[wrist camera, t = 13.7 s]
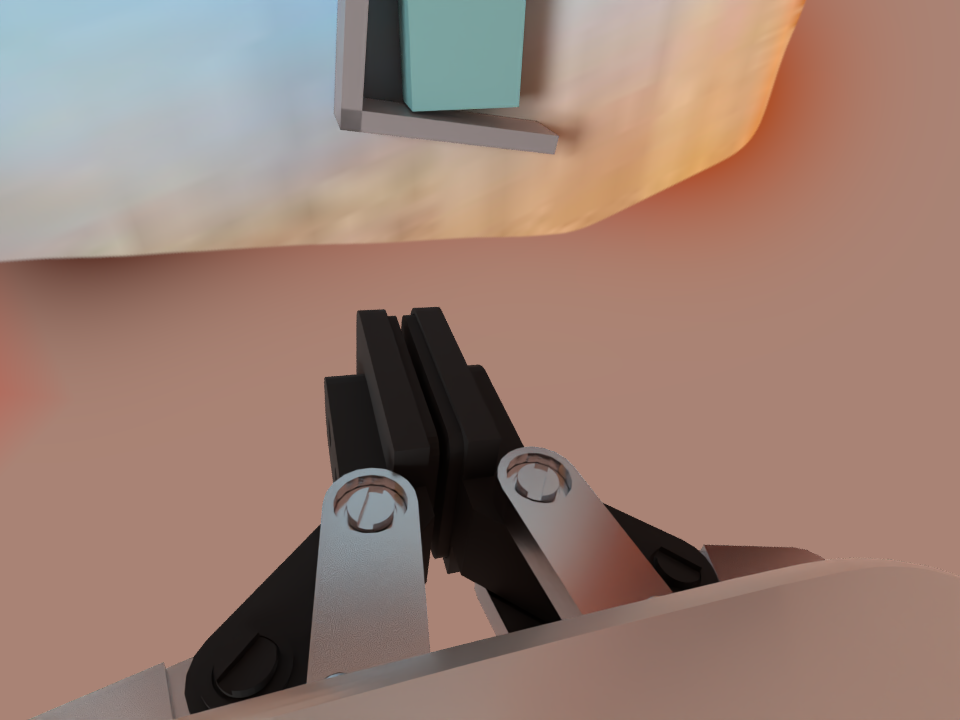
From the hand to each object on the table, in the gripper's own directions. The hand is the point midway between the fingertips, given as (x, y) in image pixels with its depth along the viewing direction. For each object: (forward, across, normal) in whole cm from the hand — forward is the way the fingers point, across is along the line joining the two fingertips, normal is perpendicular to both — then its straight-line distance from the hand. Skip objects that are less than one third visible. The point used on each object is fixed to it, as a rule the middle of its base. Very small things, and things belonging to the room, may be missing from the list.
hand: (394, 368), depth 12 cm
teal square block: (+30, -9, -3) cm, 32 cm away
